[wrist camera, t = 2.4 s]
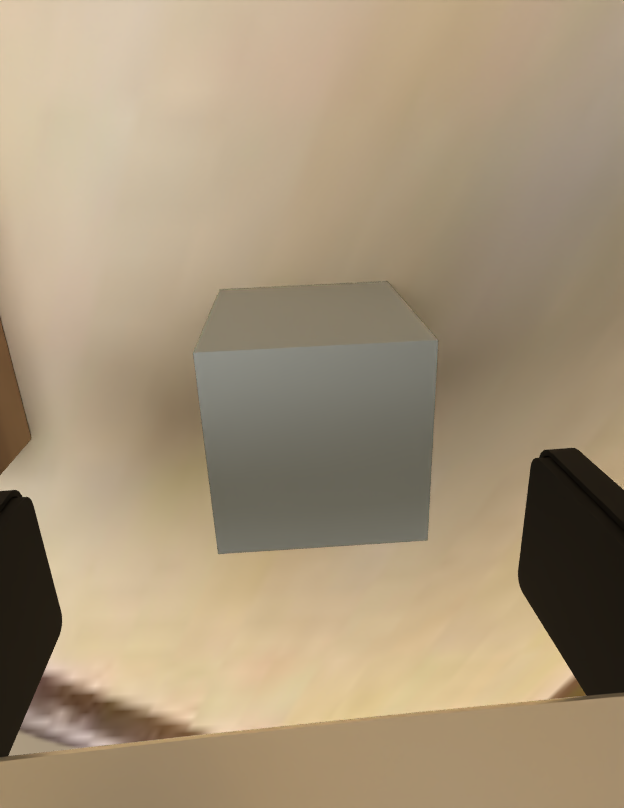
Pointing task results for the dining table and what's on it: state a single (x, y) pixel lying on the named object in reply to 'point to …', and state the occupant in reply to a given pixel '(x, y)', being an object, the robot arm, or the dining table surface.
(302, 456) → the block
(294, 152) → the dining table surface
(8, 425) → the base
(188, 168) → the dining table surface
